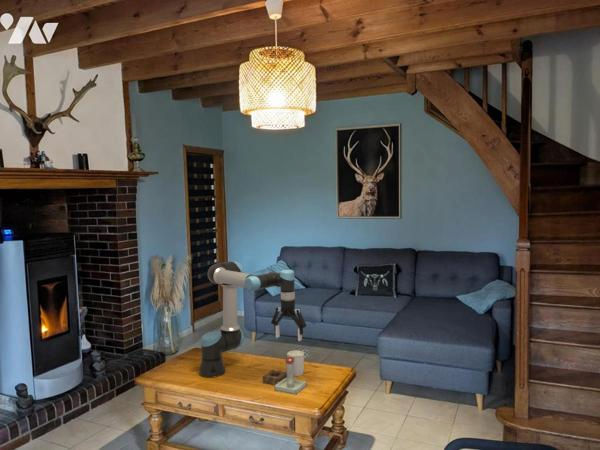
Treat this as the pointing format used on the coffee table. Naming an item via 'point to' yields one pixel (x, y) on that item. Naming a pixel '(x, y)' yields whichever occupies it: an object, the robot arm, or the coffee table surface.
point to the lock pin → (290, 371)
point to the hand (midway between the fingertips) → (288, 338)
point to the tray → (283, 388)
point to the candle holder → (297, 361)
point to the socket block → (274, 377)
